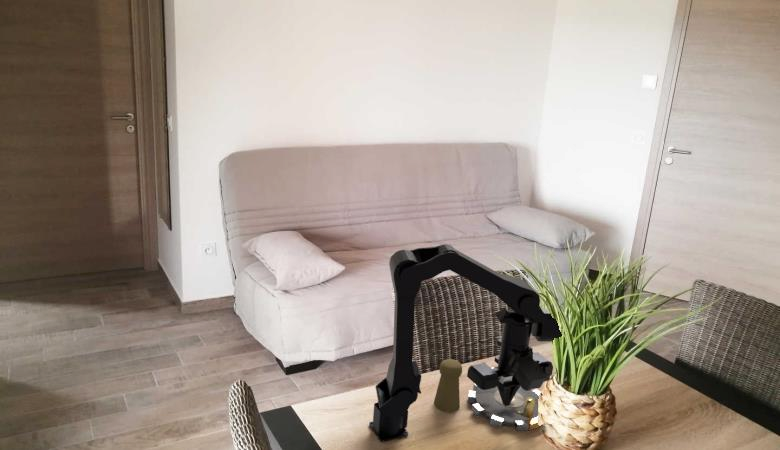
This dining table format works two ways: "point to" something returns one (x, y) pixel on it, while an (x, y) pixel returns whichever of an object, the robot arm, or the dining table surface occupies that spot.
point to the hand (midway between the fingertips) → (505, 404)
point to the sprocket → (506, 408)
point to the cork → (448, 386)
